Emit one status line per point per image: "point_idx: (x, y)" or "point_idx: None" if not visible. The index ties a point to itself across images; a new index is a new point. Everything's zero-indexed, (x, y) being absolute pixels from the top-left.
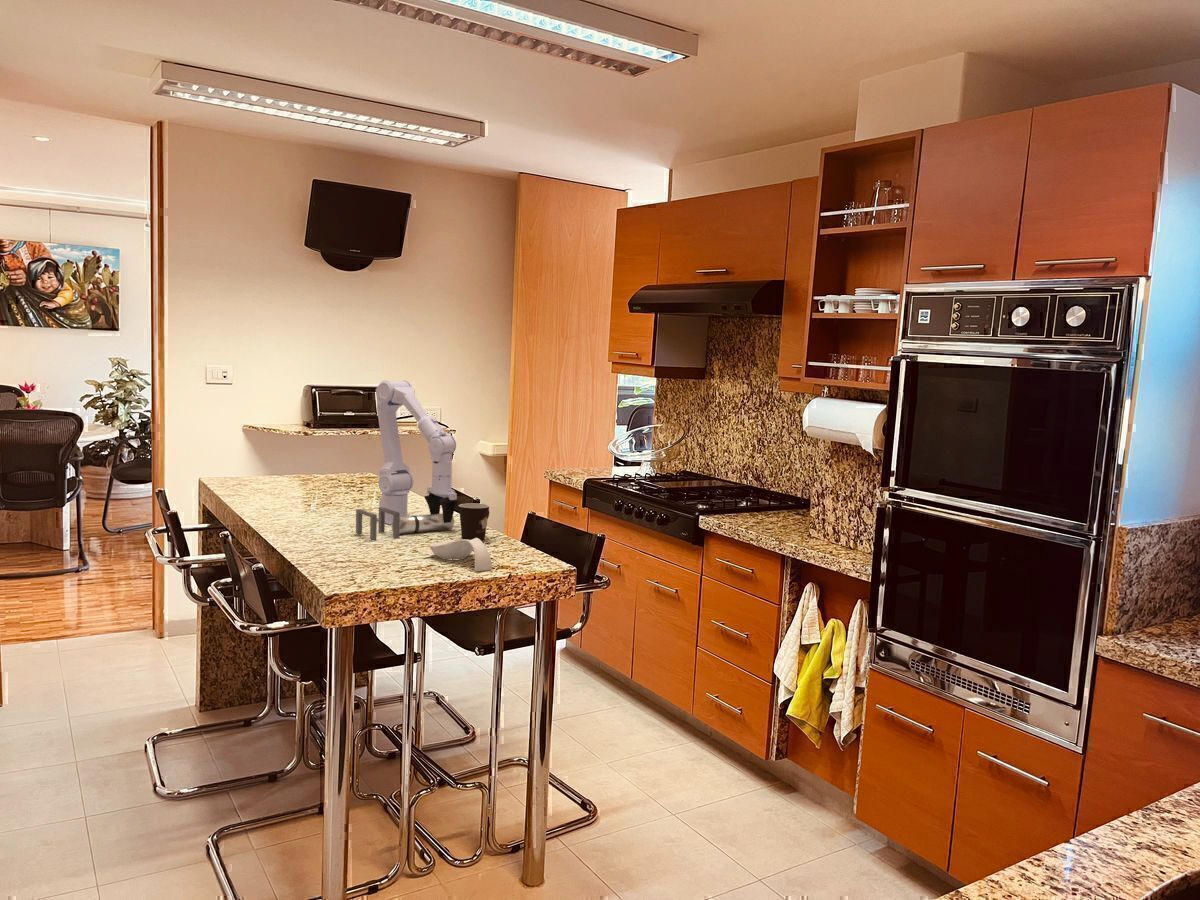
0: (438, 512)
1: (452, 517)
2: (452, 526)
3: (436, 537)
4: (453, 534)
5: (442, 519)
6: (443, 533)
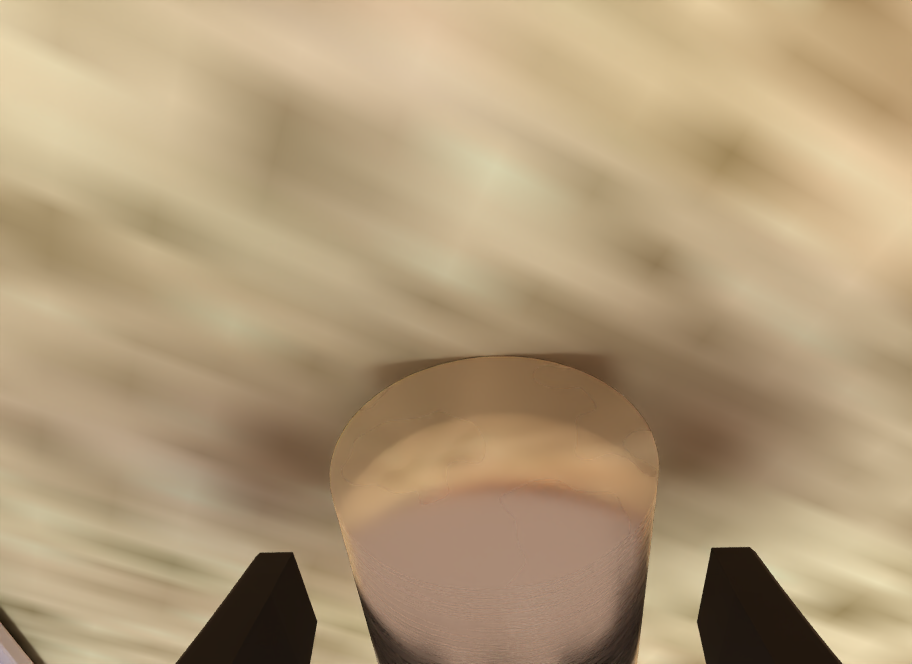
0: (252, 657)
1: (645, 532)
2: (612, 402)
3: (870, 645)
4: (871, 462)
5: (637, 657)
6: (723, 525)
